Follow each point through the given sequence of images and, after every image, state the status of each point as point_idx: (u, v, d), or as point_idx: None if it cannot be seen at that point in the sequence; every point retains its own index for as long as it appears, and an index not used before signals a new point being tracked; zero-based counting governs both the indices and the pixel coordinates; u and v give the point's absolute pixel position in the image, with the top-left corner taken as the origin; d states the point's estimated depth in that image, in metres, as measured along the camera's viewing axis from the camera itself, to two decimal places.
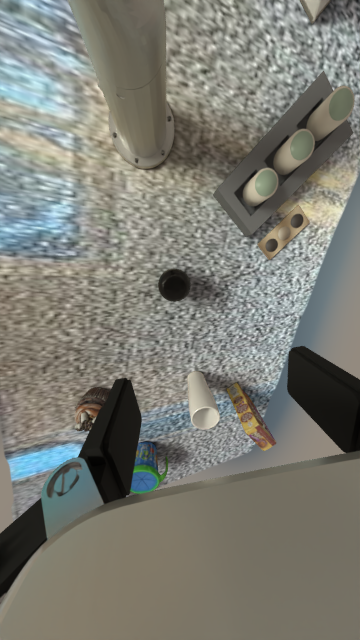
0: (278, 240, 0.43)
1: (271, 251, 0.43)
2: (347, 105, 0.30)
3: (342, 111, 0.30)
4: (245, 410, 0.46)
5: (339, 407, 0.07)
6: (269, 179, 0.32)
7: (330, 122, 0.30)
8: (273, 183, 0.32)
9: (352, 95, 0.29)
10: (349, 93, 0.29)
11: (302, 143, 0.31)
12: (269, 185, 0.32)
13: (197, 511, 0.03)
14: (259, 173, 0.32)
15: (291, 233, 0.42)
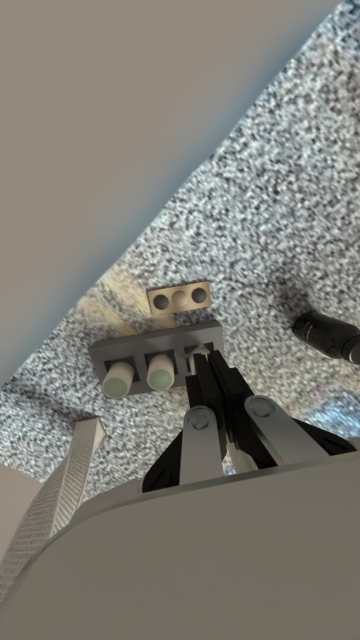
0: (189, 296, 0.35)
1: (203, 289, 0.34)
2: (109, 384, 0.30)
3: (115, 383, 0.30)
4: None
5: (223, 403, 0.08)
6: None
7: (127, 381, 0.31)
8: None
9: (103, 388, 0.31)
10: (105, 390, 0.31)
11: (159, 381, 0.31)
12: None
13: (197, 511, 0.03)
14: None
15: (172, 293, 0.34)
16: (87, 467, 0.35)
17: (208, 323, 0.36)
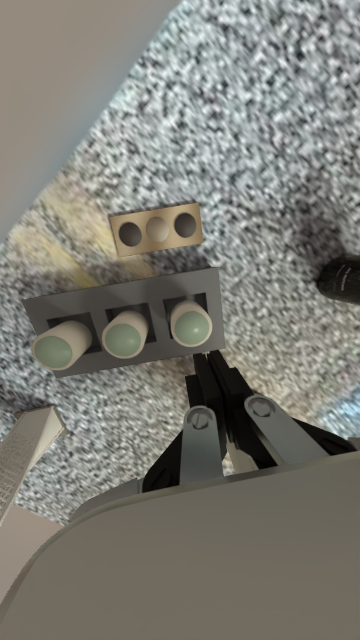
0: (171, 226, 0.24)
1: (190, 215, 0.24)
2: (43, 346, 0.20)
3: (52, 345, 0.20)
4: None
5: (223, 403, 0.08)
6: (184, 330, 0.20)
7: (71, 342, 0.20)
8: (181, 321, 0.20)
9: (35, 353, 0.20)
10: (38, 357, 0.20)
11: (121, 342, 0.20)
12: (189, 323, 0.20)
13: (197, 512, 0.03)
14: (193, 344, 0.21)
15: (145, 221, 0.24)
16: (21, 475, 0.24)
17: (199, 269, 0.26)
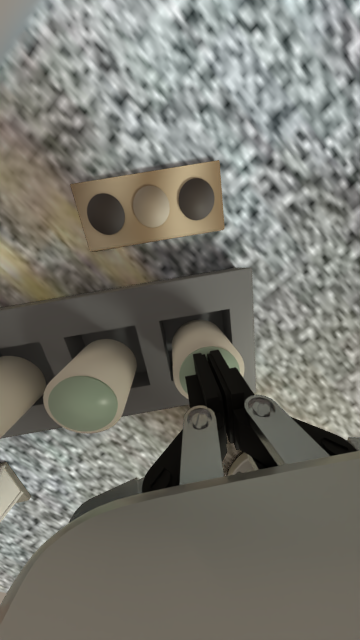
0: (173, 200, 0.15)
1: (205, 182, 0.14)
2: None
3: None
4: None
5: (223, 403, 0.08)
6: None
7: None
8: (191, 364, 0.11)
9: None
10: None
11: (81, 409, 0.11)
12: None
13: (197, 511, 0.03)
14: None
15: (131, 191, 0.14)
16: None
17: (217, 271, 0.16)
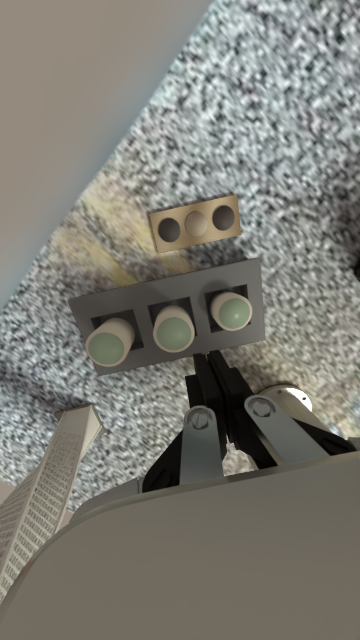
0: (209, 219, 0.24)
1: (228, 207, 0.24)
2: (96, 343, 0.20)
3: (106, 341, 0.20)
4: None
5: (223, 403, 0.08)
6: (228, 315, 0.22)
7: (123, 337, 0.20)
8: (224, 308, 0.22)
9: (88, 350, 0.20)
10: (91, 354, 0.20)
11: (172, 336, 0.20)
12: (232, 309, 0.22)
13: (197, 511, 0.03)
14: (235, 328, 0.23)
15: (184, 216, 0.24)
16: (73, 471, 0.24)
17: (237, 261, 0.26)
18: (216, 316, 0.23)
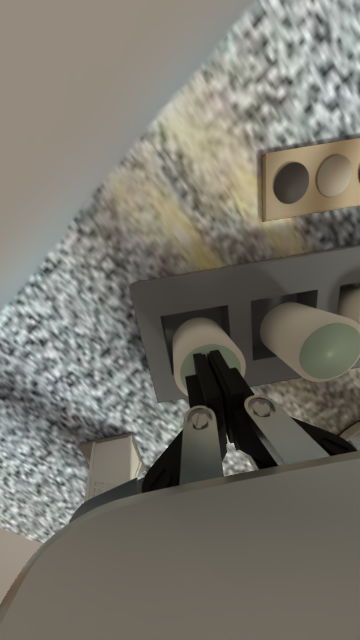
0: (354, 170, 0.15)
1: None
2: None
3: None
4: None
5: (223, 403, 0.08)
6: None
7: (242, 354, 0.11)
8: None
9: (180, 374, 0.11)
10: (182, 380, 0.12)
11: (328, 356, 0.11)
12: None
13: (197, 511, 0.03)
14: None
15: (318, 161, 0.15)
16: None
17: None
18: None
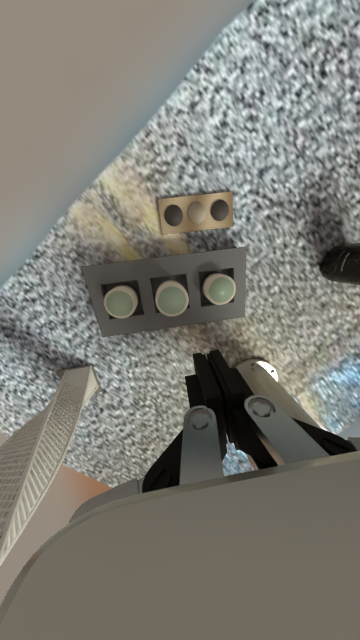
0: (208, 210, 0.29)
1: (224, 202, 0.28)
2: (112, 298, 0.27)
3: (120, 297, 0.27)
4: None
5: (223, 403, 0.08)
6: (216, 291, 0.28)
7: (133, 296, 0.27)
8: (214, 285, 0.27)
9: (106, 303, 0.27)
10: (108, 307, 0.27)
11: (171, 302, 0.25)
12: (220, 286, 0.27)
13: (197, 511, 0.03)
14: (221, 302, 0.29)
15: (187, 204, 0.28)
16: (77, 412, 0.29)
17: None
18: (207, 291, 0.28)
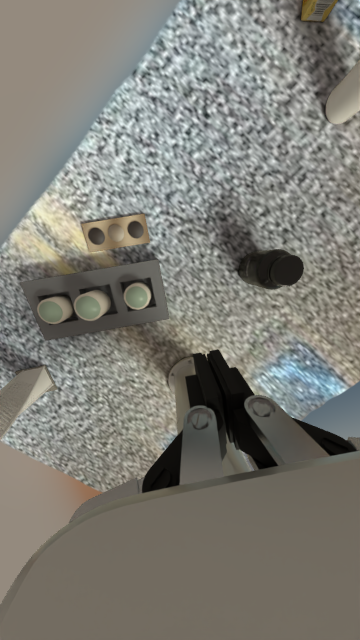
0: (125, 230, 0.34)
1: (139, 222, 0.34)
2: (44, 308, 0.32)
3: (50, 306, 0.32)
4: None
5: (223, 403, 0.08)
6: (132, 298, 0.32)
7: (62, 305, 0.32)
8: (129, 293, 0.32)
9: (39, 312, 0.32)
10: (41, 315, 0.32)
11: (87, 309, 0.30)
12: (134, 293, 0.32)
13: (197, 511, 0.03)
14: (139, 307, 0.33)
15: (107, 226, 0.33)
16: (21, 405, 0.34)
17: None
18: (124, 298, 0.33)
